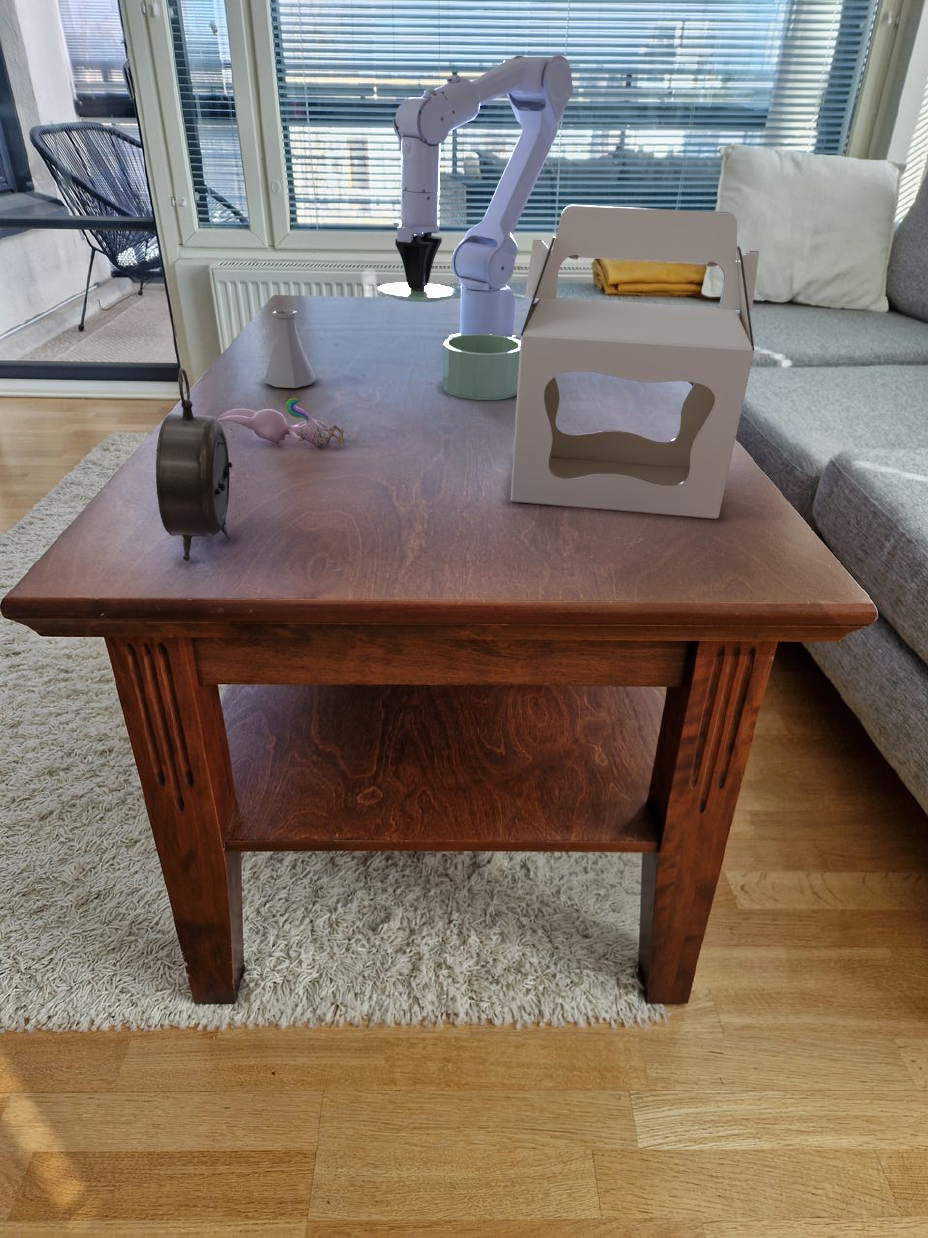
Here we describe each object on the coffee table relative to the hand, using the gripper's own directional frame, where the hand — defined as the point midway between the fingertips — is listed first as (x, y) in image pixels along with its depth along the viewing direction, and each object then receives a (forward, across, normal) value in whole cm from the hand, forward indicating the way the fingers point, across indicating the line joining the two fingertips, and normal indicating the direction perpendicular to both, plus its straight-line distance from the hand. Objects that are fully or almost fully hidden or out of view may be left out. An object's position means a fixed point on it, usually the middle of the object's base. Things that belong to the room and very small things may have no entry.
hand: (417, 286), depth 132 cm
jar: (+11, +14, +15) cm, 23 cm away
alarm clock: (+12, +71, +3) cm, 72 cm away
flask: (+11, +22, -12) cm, 28 cm away
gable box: (+11, +45, +38) cm, 60 cm away
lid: (+1, 0, 0) cm, 1 cm away
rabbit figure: (+12, +45, -2) cm, 47 cm away
